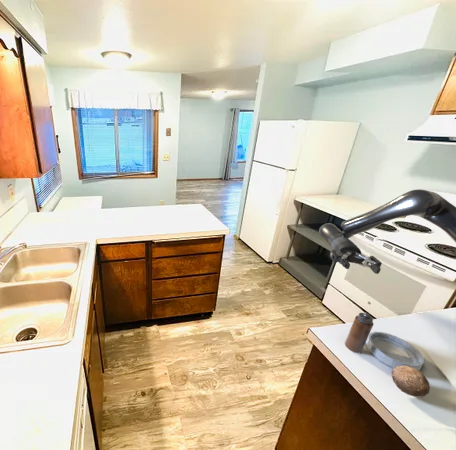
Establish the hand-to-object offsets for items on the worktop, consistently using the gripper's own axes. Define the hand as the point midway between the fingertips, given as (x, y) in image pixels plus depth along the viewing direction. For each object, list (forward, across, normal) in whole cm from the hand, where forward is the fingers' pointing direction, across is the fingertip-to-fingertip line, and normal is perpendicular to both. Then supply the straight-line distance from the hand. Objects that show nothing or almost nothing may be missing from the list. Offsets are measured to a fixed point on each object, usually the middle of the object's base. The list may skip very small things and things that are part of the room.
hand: (362, 269), depth 82 cm
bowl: (+10, +11, +25) cm, 29 cm away
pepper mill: (+11, 0, +25) cm, 27 cm away
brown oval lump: (+22, +9, +25) cm, 35 cm away
